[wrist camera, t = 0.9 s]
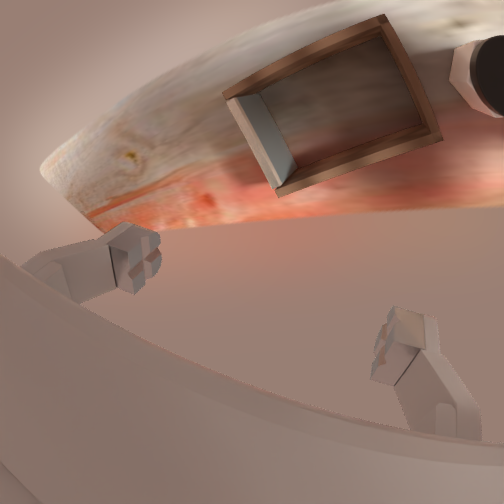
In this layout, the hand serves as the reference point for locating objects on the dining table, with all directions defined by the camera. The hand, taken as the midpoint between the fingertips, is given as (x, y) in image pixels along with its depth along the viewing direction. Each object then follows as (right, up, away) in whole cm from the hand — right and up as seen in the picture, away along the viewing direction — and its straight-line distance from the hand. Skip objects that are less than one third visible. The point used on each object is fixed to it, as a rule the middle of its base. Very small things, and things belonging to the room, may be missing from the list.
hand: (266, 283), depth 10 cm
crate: (+10, +20, +25) cm, 34 cm away
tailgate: (+2, +17, +31) cm, 35 cm away
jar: (+27, +22, +16) cm, 38 cm away
